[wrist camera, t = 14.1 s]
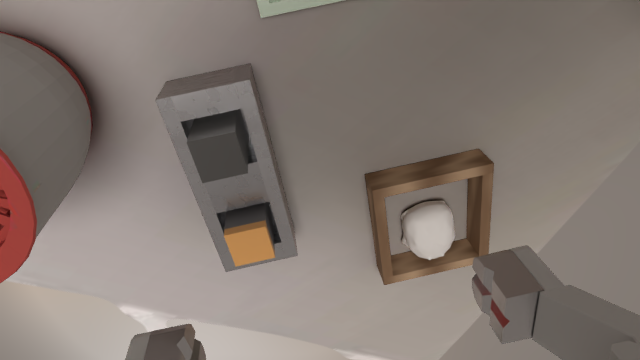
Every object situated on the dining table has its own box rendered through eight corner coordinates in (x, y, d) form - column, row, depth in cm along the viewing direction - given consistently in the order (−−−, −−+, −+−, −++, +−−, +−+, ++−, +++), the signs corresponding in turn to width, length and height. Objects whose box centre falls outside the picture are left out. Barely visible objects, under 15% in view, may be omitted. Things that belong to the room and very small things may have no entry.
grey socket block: (250, 63, 39) (249, 79, 34) (293, 227, 49) (297, 255, 45) (166, 81, 38) (155, 100, 34) (228, 242, 49) (225, 271, 45)
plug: (264, 187, 44) (265, 226, 39) (272, 216, 47) (275, 257, 41) (227, 195, 44) (223, 235, 38) (238, 223, 46) (235, 266, 41)
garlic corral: (478, 148, 47) (493, 163, 44) (475, 243, 55) (487, 261, 52) (364, 174, 47) (372, 190, 44) (377, 265, 54) (384, 285, 51)
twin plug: (237, 101, 39) (235, 131, 33) (248, 138, 41) (248, 173, 35) (196, 110, 39) (186, 142, 33) (209, 147, 41) (202, 183, 35)
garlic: (452, 238, 54) (465, 258, 51) (403, 253, 54) (412, 273, 51) (447, 190, 50) (460, 207, 46) (393, 205, 50) (403, 224, 47)
